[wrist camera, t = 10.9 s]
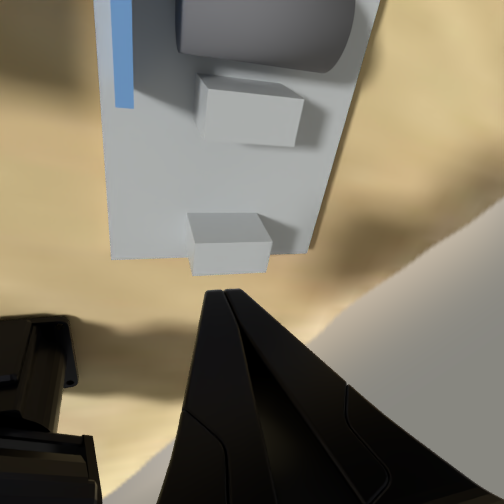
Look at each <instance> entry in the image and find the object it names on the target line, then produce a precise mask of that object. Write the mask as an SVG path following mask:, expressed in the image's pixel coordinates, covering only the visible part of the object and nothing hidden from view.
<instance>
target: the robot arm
mask: <svg viewBox="0 0 504 504" xmlns="http://www.w3.org/2000/svg"><path fill="white" fill-rule="evenodd" d="M58 324H62V325H58ZM77 384H78V371H77V365H76V359H75V352H74V346H73V340H72V334H71V328H70V322H69V320H68V319H67V318H66V317H60V316H59V317H46V318H32V319H19V320H6V321H0V504H102V492H101V486H100V479H99V473H98V467H97V460H96V454H95V447H94V441H93V436H89V435H82V436H75V435H67V434H59V433H57V428H58V421H59V414H60V407H61V400H62V393H63V388H68V387H74V386H76V385H77ZM346 385H347V384H346V381H345V380H343V379H342V378H341V377H340V376H339V375H338V374H337V373H336V372H334V371H333V370H332V369H331V368H330V367H329V366H327V365H326V364H325V363H324V362H323V361H322V360H321V359H320V358H319V357H317V356H316V355H315V354H314V353H313V352H312V351H310V350H309V349H308V348H307V347H306V346H305V345H304V344H303V343H302V342H301V341H299V340H298V339H297V338H296V337H295V336H294V335H293V334H291V333H290V332H289V331H288V330H287V329H286V328H285V327H284V326H282V325H281V324H280V323H279V322H278V321H277V320H276V319H275V318H273V317H272V316H271V315H270V314H269V313H268V312H267V311H265V310H264V309H263V308H262V307H261V306H260V305H259V304H258V303H256V302H255V301H254V300H253V299H252V298H251V297H250V296H249V295H247V294H246V293H245V292H244V291H243V290H241V289H225V290H224V291H222V290H208V291H206V292H205V295H204V300H203V305H202V310H201V315H200V320H199V326H198V331H197V336H196V341H195V346H194V351H193V356H192V361H191V366H190V371H189V376H188V381H187V386H186V391H185V396H184V401H183V406H182V412H181V415H180V420H179V425H178V430H177V435H176V439H175V443H174V448H173V452H172V456H171V460H170V463H169V466H168V469H167V472H166V476H165V479H164V483H163V485H162V489H161V492H160V494H159V497H158V501H157V503H156V504H504V499H502V498H500V497H498V496H496V495H494V494H492V493H490V492H489V491H487V490H485V489H484V488H482V487H481V486H479V485H478V484H476V483H475V482H473V481H472V480H470V479H469V478H468V477H466V476H465V475H464V474H462V473H461V472H460V471H458V470H457V469H456V468H454V467H453V466H451V465H450V464H449V463H448V462H446V461H445V460H443V459H442V458H440V457H439V456H438V455H437V454H435V453H434V452H432V451H431V450H430V449H429V448H427V447H426V446H425V445H423V444H422V443H420V442H419V441H418V440H417V439H415V438H414V437H413V436H411V435H410V434H409V433H407V432H406V431H405V430H404V429H402V428H401V427H400V426H398V425H397V424H396V423H394V422H393V421H392V420H391V419H389V418H388V417H387V416H386V415H384V414H383V413H382V412H381V411H379V410H378V409H377V408H376V407H375V406H374V405H372V404H371V403H370V402H369V401H368V400H366V399H365V398H364V397H363V396H362V395H361V394H360V393H358V392H357V391H356V390H355V389H354V388H353V387H351V386H350V385H347V386H346Z"/></svg>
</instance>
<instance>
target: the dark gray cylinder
mask: <svg viewBox="0 0 504 504" xmlns="http://www.w3.org/2000/svg"><path fill="white" fill-rule="evenodd" d="M354 14H355V0H175V32H176V45H177V50H178V52H179V53H183V54H190V55H197V56H204V57H211V58H218V59H225V60H232V61H239V62H246V63H253V64H260V65H267V66H274V67H281V68H288V69H295V70H302V71H309V72H316V73H326V72H328V71H330V70H331V69H332V68H333V67H334V66H335V65H336V63H337V62H338V60H339V59H340V57H341V55H342V54H343V51H344V49H345V47H346V45H347V42H348V39H349V36H350V33H351V29H352V25H353V20H354Z"/></svg>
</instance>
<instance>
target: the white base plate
mask: <svg viewBox="0 0 504 504" xmlns="http://www.w3.org/2000/svg"><path fill="white" fill-rule="evenodd" d="M93 1H94V16H95V30H96V45H97V60H98V74H99V89H100V103H101V118H102V132H103V147H104V161H105V176H106V190H107V205H108V219H109V234H110V249H111V260H125V259H154V258H183V257H188V259H189V263H190V268H191V272H192V276H203V275H223V274H243V273H263V272H266V270H267V265H268V261H269V256H270V255H271V254H300V253H307V251H308V248H309V244H310V241H311V237H312V234H313V231H314V227H315V224H316V220H317V217H318V213H319V210H320V206H321V203H322V200H323V196H324V193H325V189H326V186H327V182H328V179H329V175H330V172H331V168H332V165H333V162H334V158H335V155H336V151H337V148H338V144H339V141H340V137H341V134H342V131H343V127H344V124H345V120H346V117H347V113H348V110H349V106H350V103H351V99H352V96H353V93H354V89H355V86H356V82H357V79H358V75H359V72H360V68H361V65H362V62H363V58H364V55H365V51H366V48H367V44H368V41H369V37H370V34H371V30H372V27H373V24H374V20H375V17H376V13H377V10H378V6H379V3H380V0H355V14H354V20H353V25H352V29H351V33H350V36H349V39H348V42H347V45H346V47H345V49H344V51H343V54H342V55H341V57H340V59H339V60H338V62H337V63H336V65H335V66H334V67H333V68H332V69H331V70H330V71H328V72H326V73H316V72H309V71H302V70H295V69H288V68H281V67H274V66H267V65H260V64H253V63H246V62H239V61H232V60H225V59H218V58H211V57H204V56H197V55H190V54H183V53H179V52H178V50H177V45H176V32H175V0H93Z"/></svg>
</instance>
